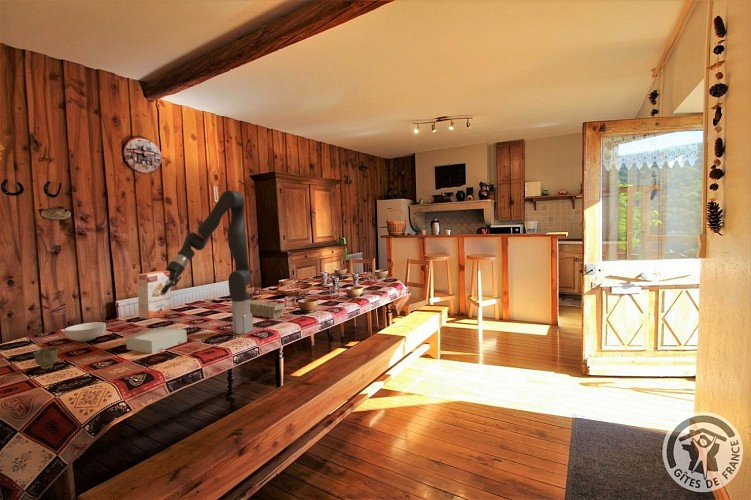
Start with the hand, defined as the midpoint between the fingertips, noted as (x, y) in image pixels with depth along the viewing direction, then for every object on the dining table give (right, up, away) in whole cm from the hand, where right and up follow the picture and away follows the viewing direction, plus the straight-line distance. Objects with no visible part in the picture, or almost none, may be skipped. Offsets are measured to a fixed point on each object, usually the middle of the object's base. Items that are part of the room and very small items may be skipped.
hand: (158, 292), depth 176 cm
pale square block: (0, -26, 0) cm, 26 cm away
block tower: (+35, -21, +54) cm, 68 cm away
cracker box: (0, -11, -1) cm, 11 cm away
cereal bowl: (-45, -26, +13) cm, 53 cm away
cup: (-30, -29, -26) cm, 49 cm away
